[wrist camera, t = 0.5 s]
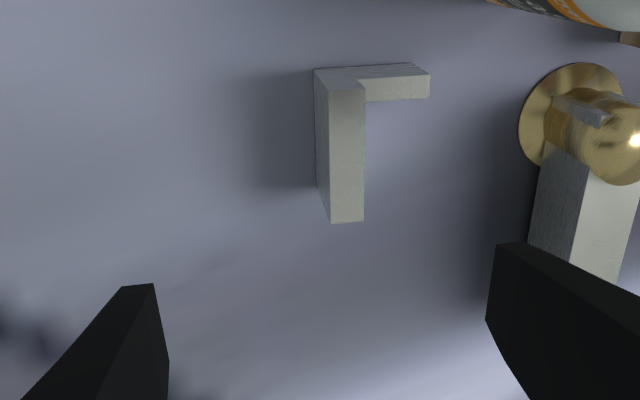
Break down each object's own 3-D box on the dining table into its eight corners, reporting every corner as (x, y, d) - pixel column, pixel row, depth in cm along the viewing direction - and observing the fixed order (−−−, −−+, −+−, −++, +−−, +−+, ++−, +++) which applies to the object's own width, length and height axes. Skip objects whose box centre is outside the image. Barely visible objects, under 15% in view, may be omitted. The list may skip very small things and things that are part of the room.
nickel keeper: (412, 62, 20) (443, 82, 17) (406, 178, 22) (433, 213, 19) (313, 69, 19) (328, 90, 16) (317, 186, 21) (330, 224, 18)
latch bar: (549, 89, 21) (605, 114, 18) (613, 85, 21) (678, 108, 18) (512, 301, 25) (551, 349, 22) (566, 294, 26) (611, 340, 23)
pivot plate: (632, 59, 21) (634, 59, 21) (607, 164, 23) (609, 165, 23) (526, 66, 20) (528, 66, 20) (510, 173, 22) (511, 174, 22)
